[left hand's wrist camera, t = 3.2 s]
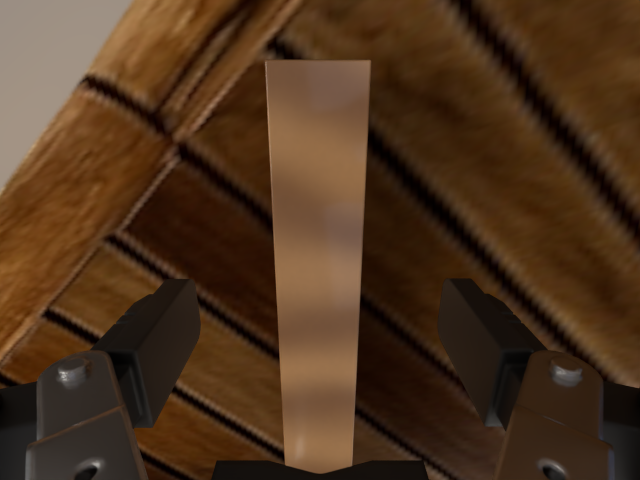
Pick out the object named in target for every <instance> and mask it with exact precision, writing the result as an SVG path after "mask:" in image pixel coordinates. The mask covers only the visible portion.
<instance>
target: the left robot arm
mask: <svg viewBox="0 0 640 480" xmlns="http://www.w3.org/2000/svg"><path fill="white" fill-rule="evenodd" d="M438 333H439V337H440V340H441V342H442V344H443V346H444V348H445V350H446V352H447V354H448V356H449V358H450V360H451V362H452V364H453V365H454V367H455V369H456V371H457V373H458V375H459V377H460V379H461V381H462V383H463V385H464V387H465V389H466V391H467V393H468V395H469V397H470V398H471V400H472V402H473V404H474V406H475V408H476V410H477V412H478V414H479V416H480V418H481V420H482V422H483V424H484V426H503V428H504V429H505V431H506V434H505V437H504V441H503V444H502V447H501V450H500V454H499V457H498V460H497V464H496V467H495V470H494V474H493V477H492V480H640V388H634V387H630V386H625V385H620V384H615V383H611V382H606V381H603V380H602V378H601V376H600V375H599V374H598V373H597V372H596V371H595V370H594V369H593V368H592V367H591V366H590V365H588V364H587V363H585V362H583V361H581V360H580V359H578V358H576V357H573V356H571V355H568V354H565V353H562V352H557V351H551V350H548V349H547V348H546V347H545V346H544V345H543V344H542V343H541V342H540V341H539V340H538V339H537V338H536V337H535V336H534V335H533V333H532V332H531V331H530V330H529V329H528V328H527V327H526V326H525V325H524V324H523V323H521V321H520V320H519V318H518V317H517V316H516V315H513V312H512V311H511V310H510V309H509V308H508V307H507V306H506V305H505V304H504V302H502V301H500V300H498V299H497V298H495V297H493V296H492V295H490V294H484V293H483V291H482V290H481V289H480V288H479V287H478V286H477V285H476V283H475V282H474V281H473V280H472V279H445V281H444V283H443V288H442V295H441V302H440V309H439V316H438ZM199 335H200V315H199V308H198V301H197V294H196V287H195V283H194V281H193V280H192V279H167V280H166V281H165V282H164V283H163V284H162V285H161V286H160V287H159V288H158V289H157V291H156V292H155V293H154V294H149V295H147V296H146V297H144V298H142V299H140V300H139V301H137V302H135V303H134V304H133V305H132V306H131V307H130V308H129V309H128V310H127V311H126V312H125V315H123V316H122V317H121V318H120V319H119V320H118V321H117V322H116V324H114V325H113V326H112V327H111V328H110V329H109V330H108V331H107V332H106V334H105V335H104V336H103V337H102V338H101V339H100V340H99V341H98V342H97V343H96V344H95V345H94V346H93V347H92V348H91V349H90V350H89V351H83V352H78V353H75V354H72V355H69V356H67V357H64V358H62V359H60V360H59V361H57V362H55V363H53V364H52V365H50V366H49V367H48V368H47V369H46V370H45V371H44V372H43V373H42V374H41V375H40V376H39V378H38V380H37V381H36V382H32V383H27V384H22V385H18V386H13V387H8V388H3V389H0V480H148V477H147V474H146V470H145V467H144V464H143V460H142V457H141V454H140V450H139V447H138V444H137V441H136V437H135V434H134V431H133V429H134V428H152V427H153V426H154V424H155V422H156V420H157V418H158V416H159V414H160V412H161V410H162V408H163V406H164V404H165V403H166V401H167V399H168V397H169V395H170V393H171V391H172V389H173V387H174V385H175V383H176V381H177V380H178V378H179V376H180V374H181V372H182V370H183V368H184V366H185V364H186V362H187V360H188V358H189V357H190V355H191V353H192V351H193V349H194V347H195V345H196V343H197V341H198V339H199ZM211 480H429V479H428V475H427V472H426V469H425V465H424V462H423V461H369V462H365V463H361V464H358V465H354V466H350V467H346V468H342V469H339V470H335V471H331V472H327V473H322V474H318V473H313V472H309V471H305V470H301V469H298V468H294V467H290V466H286V465H282V464H279V463H275V462H271V461H217V462H216V465H215V469H214V472H213V475H212V479H211Z"/></svg>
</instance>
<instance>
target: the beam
mask: <svg viewBox="0 0 640 480" xmlns="http://www.w3.org/2000/svg"><path fill="white" fill-rule="evenodd" d="M265 74H266V94H267V114H268V134H269V154H270V174H271V194H272V213H273V233H274V253H275V273H276V293H277V313H278V333H279V353H280V373H281V393H282V413H283V433H284V452H285V465H286V466H290V467H294V468H298V469H301V470H305V471H309V472H313V473H318V474H322V473H327V472H331V471H335V470H339V469H342V468H346V467H350V466H352V459H353V437H354V416H355V395H356V374H357V353H358V332H359V311H360V290H361V269H362V248H363V227H364V206H365V185H366V164H367V143H368V122H369V101H370V80H371V60H265Z"/></svg>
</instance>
